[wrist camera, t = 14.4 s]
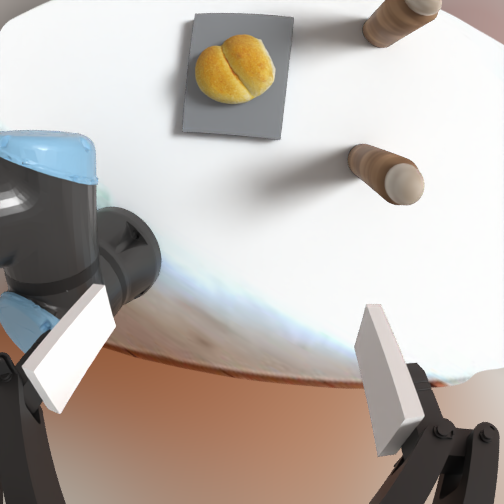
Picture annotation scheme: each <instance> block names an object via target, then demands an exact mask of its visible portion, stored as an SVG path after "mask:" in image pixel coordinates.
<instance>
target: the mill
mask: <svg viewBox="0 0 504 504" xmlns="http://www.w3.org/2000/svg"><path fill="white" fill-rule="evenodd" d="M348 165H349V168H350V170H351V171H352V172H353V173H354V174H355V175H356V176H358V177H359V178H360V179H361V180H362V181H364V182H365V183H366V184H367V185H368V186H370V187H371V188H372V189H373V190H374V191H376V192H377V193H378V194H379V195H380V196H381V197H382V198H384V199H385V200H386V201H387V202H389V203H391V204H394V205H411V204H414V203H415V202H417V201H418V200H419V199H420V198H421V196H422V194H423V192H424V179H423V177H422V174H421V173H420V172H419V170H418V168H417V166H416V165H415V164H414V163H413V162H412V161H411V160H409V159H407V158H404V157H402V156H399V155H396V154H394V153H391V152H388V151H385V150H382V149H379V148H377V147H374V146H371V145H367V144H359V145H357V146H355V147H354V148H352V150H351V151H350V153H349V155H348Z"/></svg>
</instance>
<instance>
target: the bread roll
mask: <svg viewBox="0 0 504 504" xmlns="http://www.w3.org/2000/svg"><path fill="white" fill-rule="evenodd" d="M275 71H276V69H275V66H274V64H273V62H272V59H271V57H270V56H269V53H268V51H267V49H266V48H265V46H264V44H263V42H262V40H261V39H257V38H255V37H253V36H250V35H246V34H242V35H235V36H232V37H230V38H228V39H227V40H226V41H225V42H224V43H223V44H222V45H221V46H211V47H208V48H206V49H205V50H204V51H203V52H202V53H201V54H200V56H199V58H198V60H197V62H196V66H195V77H196V81H197V84H198V86H199V88H200V90H201V91H202V92H203V93H204V94H205V95H207V96H208V97H210V98H211V99H213V100H215V101H218V102H221V103H227V104H240V103H245V102H248V101H250V100H252V99H253V98H256V97H257V96H260V95H261V94H263V93H264V92H265V91H266V90H267V89H268V88H269V87H270V86H271V85H272V83H273V82H274V78H275Z"/></svg>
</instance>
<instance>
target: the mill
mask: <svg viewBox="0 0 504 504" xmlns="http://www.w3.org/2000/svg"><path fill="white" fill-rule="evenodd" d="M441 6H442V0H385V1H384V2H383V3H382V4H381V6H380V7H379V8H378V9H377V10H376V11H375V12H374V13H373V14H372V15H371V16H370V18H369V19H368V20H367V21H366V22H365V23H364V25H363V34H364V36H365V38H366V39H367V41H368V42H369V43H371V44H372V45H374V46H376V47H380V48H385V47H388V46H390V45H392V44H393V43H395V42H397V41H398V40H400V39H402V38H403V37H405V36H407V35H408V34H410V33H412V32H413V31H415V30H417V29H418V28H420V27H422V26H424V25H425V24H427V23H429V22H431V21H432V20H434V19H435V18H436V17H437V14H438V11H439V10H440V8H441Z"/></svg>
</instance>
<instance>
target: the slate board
mask: <svg viewBox="0 0 504 504" xmlns="http://www.w3.org/2000/svg"><path fill="white" fill-rule="evenodd" d="M293 22H294V17H285V16H275V15H263V14H243V13H204V14H195V18H194V25H193V32H192V39H191V47H190V55H189V64H188V73H187V82H186V93H185V104H184V116H183V130H182V132H200V133H216V134H229V135H241V136H251V137H260V138H269V139H277V140H280V138H281V130H282V122H283V113H284V104H285V96H286V87H287V78H288V69H289V60H290V50H291V41H292V31H293ZM242 34H246V35H250V36H253V37H255V38H257V39H261V40H262V42H263V44H264V46H265V48H266V49H267V51H268V53H269V56H270V57H271V59H272V62H273V64H274V66H275V69H276V71H275V78H274V82H273V83H272V85H271V86H270V87H269V88H268V89H267V90H266V91H265V92H264V93H263V94H261V95H260V96H257V97H256V98H253V99H252V100H250V101H248V102H245V103H240V104H227V103H221V102H218V101H215V100H213V99H211V98H210V97H208V96H207V95H205V94H204V93H203V92H202V91H201V90H200V88H199V86H198V84H197V81H196V77H195V66H196V62H197V60H198V58H199V56H200V54H201V53H202V52H203V51H204V50H205V49H206V48H208V47H211V46H221V45H222V44H223V43H224V42H225V41H226V40H227V39H228V38H230V37H232V36H235V35H242Z"/></svg>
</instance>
